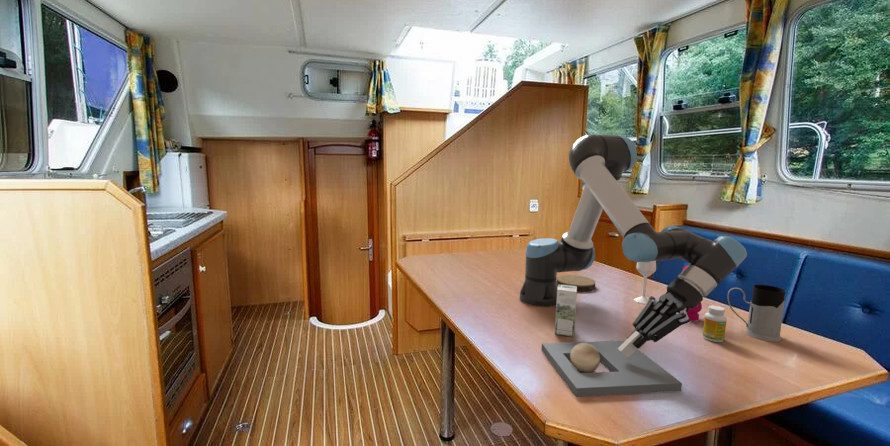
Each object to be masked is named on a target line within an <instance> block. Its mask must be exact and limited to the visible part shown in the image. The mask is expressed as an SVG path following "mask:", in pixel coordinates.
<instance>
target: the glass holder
mask: <svg viewBox="0 0 890 446" xmlns="http://www.w3.org/2000/svg"><path fill="white" fill-rule="evenodd" d="M732 290H739V291H741V292H742V294H743V301H744V302H745V303H746V304H749V312H748V317H747V318H748V319H747V321H746V320H745V319H744V318H743V317H742V316H741V315H739V314H738V313H737V312H736V311H735V310H734V308H733V306H732V305H731V302H730V292H731V291H732ZM751 293H752V294H751V300H750V302H749V301H747V300H746V293H745V291H744V290H743V289H742V288H740V287H731V288H730V289H729V290H728V291H727V298H726V299H727V303H728V305H729V308H730V309H731V311H732V312H733V313H734V314H735V315H736V316H737V317H738V318H739V319H740V320H742V321H743V323H745V326H746V328H745V330H744V333H745V335H746V334H747V336H749V337H752V338H754V339H757V340H761V341H766V342H775V343H776V342H780V341H782V337H781V330H782V323H783V316H784V315H783V314H784V311H785V303H786V290H785V289H783V288H782V287H781V288H780V287H778V286H772V285H768V284H754V285H753V286H752V291H751Z"/></svg>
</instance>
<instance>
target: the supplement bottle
mask: <svg viewBox="0 0 890 446" xmlns="http://www.w3.org/2000/svg"><path fill="white" fill-rule="evenodd" d="M707 311H708V312H705V314H704V318H703V319H704V320H703V329H702V338H704V339H705V340H707V341H709V342H715V343H723V342H724V341H725V335H726V330H727V329H726V326H727V316H726V315H725V311H726V310H725V308H724V307H722V306H718V305H708V309H707Z"/></svg>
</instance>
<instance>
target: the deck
mask: <svg viewBox="0 0 890 446" xmlns="http://www.w3.org/2000/svg"><path fill="white" fill-rule="evenodd" d="M626 340H627V339H626ZM626 340H600V341H599V340H597V341H574V342H573V341H572V342H570V341H569V342H546V343H545V342H543V343H541V352H542V353H543V354H544V355H545V357H546V358H547V360H548V361H549V362H550V363H551V365H552V366H553V368H554V369H555V370H556V372H557V373H558V374H559V376H560V377H561V378H562V380H563V381H564V383H565V384H566V386H567V387H568V388H569V389H570V390H571V392H572V393H573V395H574V396H575V397H592V396H593V397H594V396H611V395H612V396H613V395H631V394H633V395H634V394H650V393H651V394H653V393H654V394H655V393H673V392H674V393H675V392H682V385H683V383H682V382H681V380H679V379H677V378H676V377H675V376H674V375H672V374H671V373H670V372H669V371H667V370H666V369H664V368H663V367H662V366H661V365H660V364H658V363H657V362H655V361H654V360H653V359H652V358H650V357H649V356H648V355H647V354H645V353H644V352H642V351H641V350H640V348H639V349H636V350H635V351H634V352H633V353H632V354H631V355H630V356H629V357H628V358H627V357H626V356H624V355H623V354H622V353H621V352H620V350H619V349H618V348H619V347H620V346H621V345H622V344H623V343H624V342H625V341H626ZM580 343H588V344H590V345H592V346H594V347H595V348H596V349H597V351H598V352H599V355H600V363H602V364H603V365H604V366H605V367H606V369H608V370H609V371H603V372H600V371H599V372H598V371H597V372H589V373H584V372H580V371H579V370H577V369H576V368H575V367H574V366H573V364H572V362H571V358H570V354H571V351H572V349H573V347H574V346H576V345H577V344H580Z"/></svg>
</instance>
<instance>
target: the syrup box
mask: <svg viewBox="0 0 890 446" xmlns="http://www.w3.org/2000/svg"><path fill="white" fill-rule="evenodd" d="M577 296H578V292H577V286H568V285H558V288H557V303H556V305H555V306H556V307H555V319H554V320H555V322H554V323H555V325H554V334H555V335H559V336H565V337H572V338H573V337H575V326H576V312H577Z"/></svg>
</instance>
